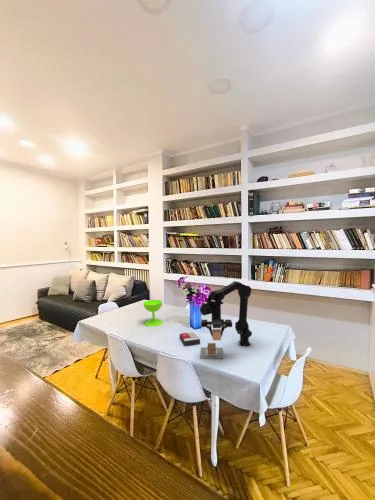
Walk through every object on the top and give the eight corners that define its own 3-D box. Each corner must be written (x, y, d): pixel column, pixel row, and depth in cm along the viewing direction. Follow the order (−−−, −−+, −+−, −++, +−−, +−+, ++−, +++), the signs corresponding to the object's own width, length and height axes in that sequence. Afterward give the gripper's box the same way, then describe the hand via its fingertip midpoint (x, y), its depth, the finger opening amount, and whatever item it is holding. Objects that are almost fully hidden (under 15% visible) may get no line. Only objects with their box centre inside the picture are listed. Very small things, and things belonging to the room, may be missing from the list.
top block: (212, 336, 155) (212, 329, 155) (220, 337, 155) (220, 329, 155) (212, 340, 150) (212, 332, 150) (221, 340, 150) (220, 332, 150)
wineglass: (140, 325, 206) (140, 304, 205) (149, 319, 222) (148, 299, 221) (158, 327, 202) (157, 305, 201) (166, 320, 217) (165, 300, 216)
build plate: (200, 347, 163) (200, 347, 163) (222, 348, 162) (222, 347, 162) (200, 358, 149) (200, 357, 149) (223, 358, 148) (223, 358, 148)
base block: (207, 350, 158) (207, 342, 158) (215, 350, 158) (215, 342, 157) (207, 354, 153) (207, 346, 153) (215, 354, 153) (215, 346, 152)
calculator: (193, 331, 183) (200, 338, 169) (194, 337, 183) (200, 344, 169) (179, 333, 180) (184, 340, 166) (179, 339, 180) (184, 346, 166)
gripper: (200, 316, 144) (201, 342, 145) (233, 316, 143) (233, 342, 144) (200, 310, 156) (201, 334, 156) (231, 310, 154) (231, 334, 155)
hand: (216, 336), depth 153 cm, fingers closed on top block, 5 cm apart
